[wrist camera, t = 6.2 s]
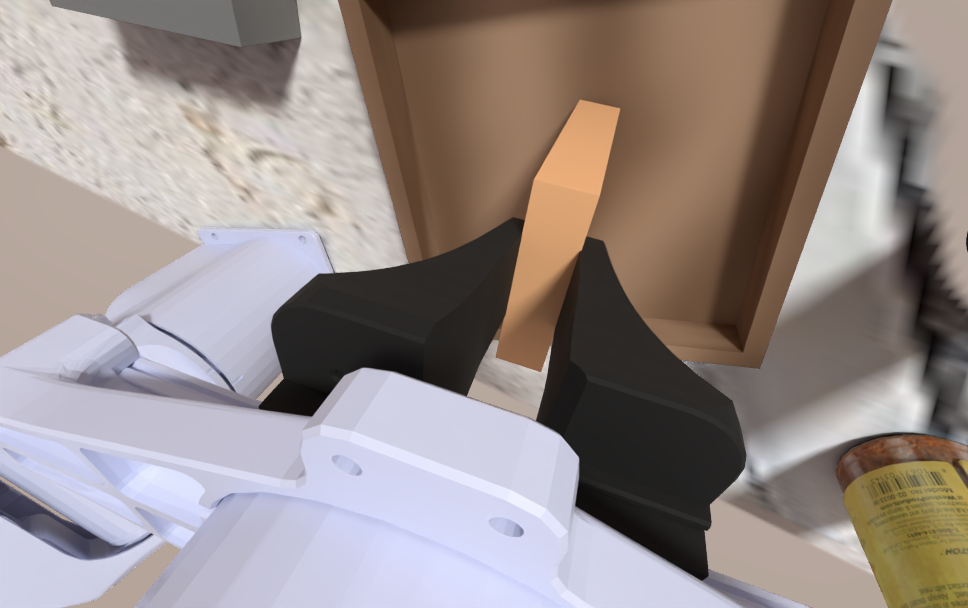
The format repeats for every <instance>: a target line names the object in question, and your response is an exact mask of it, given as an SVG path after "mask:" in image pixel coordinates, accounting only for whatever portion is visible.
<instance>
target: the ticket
mask: <svg viewBox="0 0 968 608" xmlns="http://www.w3.org/2000/svg"><path fill="white" fill-rule="evenodd" d="M619 112H620V108H616V107H612V106H607V105H602V104H598V103H593V102H589V101H584V100H579V102H578V104H577V106H576V107H575V109H574V111H573V112H572V114H571V116H570V118H569V119H568V121H567V123H566V125H565V126H564V128H563V130H562V132H561V133H560V135H559V137H558V139H557V140H556V142H555V144H554V145H553V147H552V149H551V151H550V152H549V154H548V156H547V158H546V159H545V161H544V163H543V165H542V166H541V168H540V170H539V171H538V173H537V175H536V177H535V178H534V181H533V186H532V191H531V195H530V200H529V204H528V209H527V214H526V218H525V223H524V228H523V232H522V238H521V243H520V248H519V253H518V258H517V263H516V267H515V272H514V277H513V282H512V287H511V292H510V297H509V301H508V306H507V311H506V315H505V317H504V320H503V325H502V330H501V334H500V339H499V344H498V348H497V353H496V358H499V359H502V360H505V361H509V362H512V363H515V364H518V365H521V366H524V367H527V368H530V369H533V370H536V371H539V372H541V370H542V367H543V364H544V361H545V358H546V355H547V352H548V349H549V346H550V343H551V340H552V337H553V334H554V330H555V327H556V323H557V320H558V317H559V314H560V311H561V308H562V305H563V302H564V299H565V296H566V292H567V289H568V286H569V283H570V280H571V277H572V274H573V271H574V268H575V265H576V261H577V258H578V255H579V252H580V251H582V248H583V245H584V242H585V239H586V236H587V233H588V230H589V227H590V224H591V221H592V218H593V215H594V212H595V209H596V206H597V203H598V200H599V197H600V193H601V189H602V184H603V180H604V176H605V172H606V167H607V163H608V159H609V155H610V150H611V146H612V142H613V138H614V133H615V129H616V125H617V121H618V116H619Z"/></svg>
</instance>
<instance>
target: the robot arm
mask: <svg viewBox="0 0 968 608" xmlns="http://www.w3.org/2000/svg"><path fill="white" fill-rule="evenodd" d="M524 223H525V220H523V219H519V218H515V217H512V218H511V219H509V220H507V221H505V222H504V223H502V224H500V225H499V226H497V227H496V228H494V229H492V230H491V231H489V232H487V233H485V234H484V235H482V236H480V237H478V238H476V239H475V240H473V241H471V242H468V243H466V244H464V245H462V246H460V247H458V248H456V249H454V250H451V251H449V252H446V253H444V254H441V255H438V256H435V257H432V258H429V259H425V260H422V261H418V262H413V263H409V264H405V265H401V266H396V267H391V268H385V269H378V270H370V271H361V272H345V273H334V272H333V269H332V267H331V264H330V262H329V259H328V256H327V254H326V251H325V249H324V246H323V244H322V241H321V239H320V237H319V235H318V234H317V233H316V232H315V231H313V230H304V229H263V228H223V227H202V228H200V229H199V230H198V231H197V233H198V236H199V238H200V240H201V241H202V243H203V245H201V246H199V247H198V248H196V249H194V250H193V251H191V252H189V253H187V254H186V255H184V256H182V257H181V258H179V259H177V260H176V261H174V262H172V263H170V264H169V265H167V266H165V267H164V268H162V269H160V270H159V271H157V272H155V273H153V274H152V275H150V276H148V277H147V278H145V279H143V280H141V281H140V282H138V283H136V284H135V285H133V286H132V287H130V288H128V289H126V290H125V291H124V292H122V293H121V294H120V295H119V296H118V297H117V298H116V299H115V300H114V301H113V302H112V304H111V305H110V307H109V308H108V310H107V312H106V314H105V316H104V315H103V314H96V315H91V314H76V315H74V316H72V317H70V318H69V319H67V320H65V321H63V322H61V323H59V324H58V325H56V326H54V327H52V328H51V329H49V330H47V331H45V332H44V333H42V334H40V335H38V336H37V337H35V338H33V339H32V340H30V341H28V342H26V343H25V344H23V345H21V346H19V347H18V348H16V349H14V350H12V351H11V352H9V353H7V354H6V355H4V356H2V357H0V476H2V477H3V478H5V479H7V480H8V481H10V482H11V483H13V484H14V485H16V486H18V487H19V488H21V489H22V490H24V491H25V492H27V493H29V494H30V495H32V496H33V497H35V498H37V499H38V500H40V501H41V502H43V503H44V504H46V505H48V506H49V507H51V508H52V509H54V510H56V511H57V512H59V513H60V514H62V515H63V516H65V517H67V518H68V519H70V520H71V521H73V522H74V523H72V522H70V521H67V520H64V519H62V518H60V517H59V516H57V515H55V514H54V513H52V512H51V511H49V510H47V509H46V508H44V507H43V506H41V505H39V504H38V503H36V502H35V501H33V500H32V499H30V498H28V497H27V496H25V495H24V494H22V493H20V492H19V491H17V490H16V489H14V488H13V487H11V486H9V485H7V484H6V483H5V482H3V481H1V480H0V608H64V607H69V606H73V605H78V604H82V603H86V602H90V601H93V600H95V599H98V598H100V597H102V596H103V595H104V594H105V593H106V592H107V591H108V590H109V589H110V588H111V587H112V586H114V585H116V584H118V583H119V582H120V581H121V580H122V579H123V578H124V577H125V576H126V575H128V574H129V573H130V572H131V571H132V570H133V569H134V568H135V567H137V566H138V565H139V564H140V563H141V562H142V561H144V560H145V559H146V558H147V557H148V556H150V555H151V554H152V553H153V552H155V551H156V550H157V549H159V548H160V547H161V546H163V545H165V544H166V543H170V544H172V545H174V546H176V547H178V548H180V549H181V551H180V552H179V553H178V555H177V556H176V557H175V558H174V559H173V561H172V562H171V563H170V564H169V565H168V567H167V568H166V569H165V570H164V572H163V573H162V574H161V575H160V576H159V578H158V579H157V580H156V581H155V582H154V584H153V585H152V586H151V587H150V589H149V590H148V591H147V592H146V594H145V595H144V596H143V597H142V598H141V600H140V601H139V602H138V603H137V604H136V606H135V607H134V608H812V607H809V606H806V605H804V604H801V603H798V602H795V601H793V600H790V599H787V598H784V597H782V596H779V595H777V594H774V593H771V592H768V591H766V590H763V589H760V588H758V587H755V586H753V585H750V584H747V583H745V582H742V581H739V580H736V579H734V578H731V577H729V576H726V575H723V574H721V573H718V572H715V571H712V570H710V569H708V564H707V563H708V562H707V552H706V542H705V532H704V530H706V531H707V530H708V529H709V528H710V526H711V513H710V504H711V503H712V502H713V501H714V500H715V499H716V498H717V497H719V496H720V495H721V494H722V493H723V492H724V491H725V490H726V489H727V488H728V487H729V486H730V485H731V484H732V483H733V482H734V481H735V480H736V479H737V478H738V477H739V475H740V474H741V472H742V471H743V470H744V468H745V461H746V451H745V447H744V442H743V436H742V432H741V428H740V424H739V420H738V417H737V414H736V411H735V408H734V405H733V402H732V400H730V399H729V398H728V397H726V396H725V395H724V394H722V393H721V392H720V391H718V390H717V389H716V388H714V387H713V386H712V385H710V384H709V383H708V382H706V381H705V380H704V379H702V378H701V377H700V376H698V375H697V374H696V373H695V372H693V371H692V370H691V369H690V368H689V367H688V366H687V365H686V364H684V363H683V362H682V361H681V360H680V359H679V358H678V357H677V356H675V355H674V354H673V353H672V352H671V351H670V350H669V349H668V348H667V347H666V346H665V345H664V344H663V342H662V341H661V340H660V339H659V338H658V337H657V336H656V335H655V334H654V333H653V332H652V330H651V329H650V328H649V327H648V326H647V324H646V323H645V322H644V320H643V319H642V318H641V316H640V315H639V314H638V312H637V311H636V310H635V308H634V307H633V305H632V304H631V302H630V300H629V299H628V297H627V295H626V293H625V291H624V290H623V288H622V286H621V284H620V281H619V279H618V277H617V275H616V273H615V270H614V268H613V265H612V263H611V260H610V257H609V254H608V251H607V248H606V245H605V243H604V241H603V240H599V239H595V238H591V237H587V236H586V239H585V242H584V245H583V248H582V251H580V252H579V255H578V258H577V261H576V265H575V268H574V271H573V274H572V277H571V280H570V283H569V286H568V289H567V292H566V296H565V299H564V302H563V305H562V308H561V311H560V314H559V317H558V320H557V323H556V327H555V330H554V336H553V342H552V348H551V355H550V361H549V367H548V374H547V379H546V384H545V389H544V393H543V397H542V401H541V404H540V408H539V412H538V415H537V419H536V421H535V420H533V419H531V418H529V417H526V416H523V415H520V414H517V413H514V412H512V411H508V410H506V409H503V408H499V407H497V406H494V405H491V404H488V403H485V402H482V401H479V400H476V399H473V398H470V397H467V394H468V391H469V389H470V387H471V384H472V382H473V379H474V377H475V374H476V372H477V369H478V367H479V365H480V363H481V361H482V359H483V357H484V355H485V353H486V351H487V349H488V347H489V345H490V343H491V342H492V340H493V338H494V336H495V334H496V332H497V330H498V329H499V327H500V325H501V323H502V321H503V319H504V317H505V315H506V311H507V306H508V301H509V297H510V292H511V287H512V282H513V277H514V272H515V267H516V263H517V258H518V253H519V248H520V243H521V238H522V232H523V228H524ZM304 238H305V239H304ZM281 372H282V373H283V377H284V379H283V380H282V381H281V382H280V384H278V385H277V387H276V388H275V389H274V390H273V391H272V392H271V393H270V394H269V395H268V396H267V398H266V399H265V400H264V401H263V402H260V401H258V400H256V399H257V398H258V397H259V396H260V395H261V393H262V392H263V391H264V390H265V389H266V388H267V387H268V386H269V385H270V384H271V383H272V382H273V381H274V379H276V378H277V376H278V375H279V374H280V373H281ZM75 523H76V524H75Z"/></svg>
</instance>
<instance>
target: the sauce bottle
mask: <svg viewBox="0 0 968 608" xmlns="http://www.w3.org/2000/svg"><path fill="white" fill-rule="evenodd" d="M836 476H837V478H838V480H839V483H840V486H841V489H842V491H843V493H844V497H843V501H844V505H845V507H846V509H847V512H848V514H849V517H850V519H851V521H852V524H853V526H854V529H855V531H856V533H857V536H858V538H859V541H860V543H861V545H862V548H863V550H864V552H865V555H866V557H867V559H868V561H869V564H870V566H871V568H872V571H873V573H874V575H875V578H876V580H877V582H878V585H879V587H880V589H881V592H882V594H883V597H884V599H885V601H886V604H887V606H888V608H968V446H966V445H964V444H961V443H958V442H955V441H951V440H947V439H944V438H940V437H936V436H929V435H906V434H903V435H900V436H891V437H881V438H877V439H874V440H870V441H868V442H864V443H863V444H861V445H859V446H856V447H853V448H851V449H850V450H849V451H848V452H847V453H846V454H845V455H843V456H842V459H841V460H840V462H839V463H838V465H837V468H836Z"/></svg>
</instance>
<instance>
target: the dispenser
mask: <svg viewBox="0 0 968 608" xmlns="http://www.w3.org/2000/svg"><path fill="white" fill-rule="evenodd" d="M50 2H51V5H52V6H54V7H59V8H64V9H68V10H73V11H77V12H82V13H87V14H91V15H96V16H100V17H105V18H110V19H114V20H119V21H123V22H128V23H133V24H137V25H142V26H146V27H151V28H156V29H160V30H165V31H169V32H174V33H179V34H183V35H188V36H192V37H197V38H202V39H206V40H211V41H215V42H220V43H225V44H229V45H234V46H238V47H246V46H252V45H258V44H265V43H271V42H277V41H283V40H290V39H296V38H301V33H300V26H299V19H298V12H297V5H296V0H50Z"/></svg>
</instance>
